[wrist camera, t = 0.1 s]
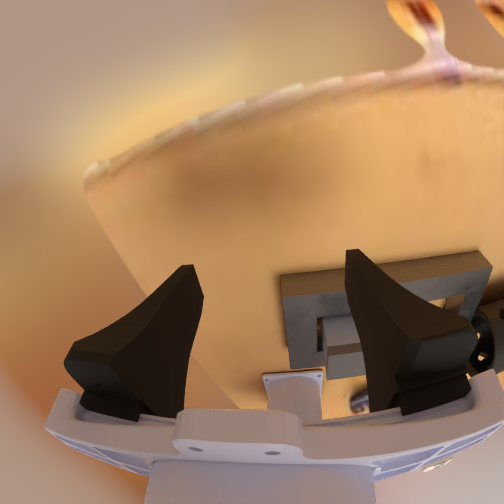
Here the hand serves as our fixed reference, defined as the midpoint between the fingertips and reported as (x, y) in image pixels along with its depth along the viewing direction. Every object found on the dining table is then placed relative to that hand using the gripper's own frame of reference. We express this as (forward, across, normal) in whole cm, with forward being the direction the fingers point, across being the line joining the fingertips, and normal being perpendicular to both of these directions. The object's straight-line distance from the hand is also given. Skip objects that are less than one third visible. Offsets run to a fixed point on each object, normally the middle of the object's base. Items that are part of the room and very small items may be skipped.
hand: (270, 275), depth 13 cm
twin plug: (+10, -6, +13) cm, 18 cm away
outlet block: (+10, -11, +13) cm, 20 cm away
